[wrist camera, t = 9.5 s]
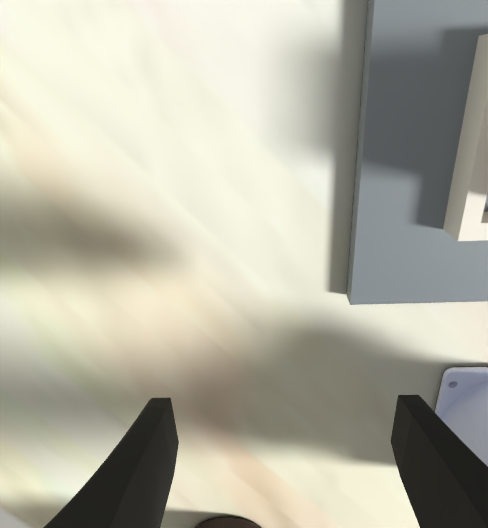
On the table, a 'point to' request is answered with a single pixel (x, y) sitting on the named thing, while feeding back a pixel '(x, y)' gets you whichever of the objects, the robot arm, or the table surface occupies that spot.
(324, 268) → the table surface
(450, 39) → the holder
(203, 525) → the bottle
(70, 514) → the robot arm
